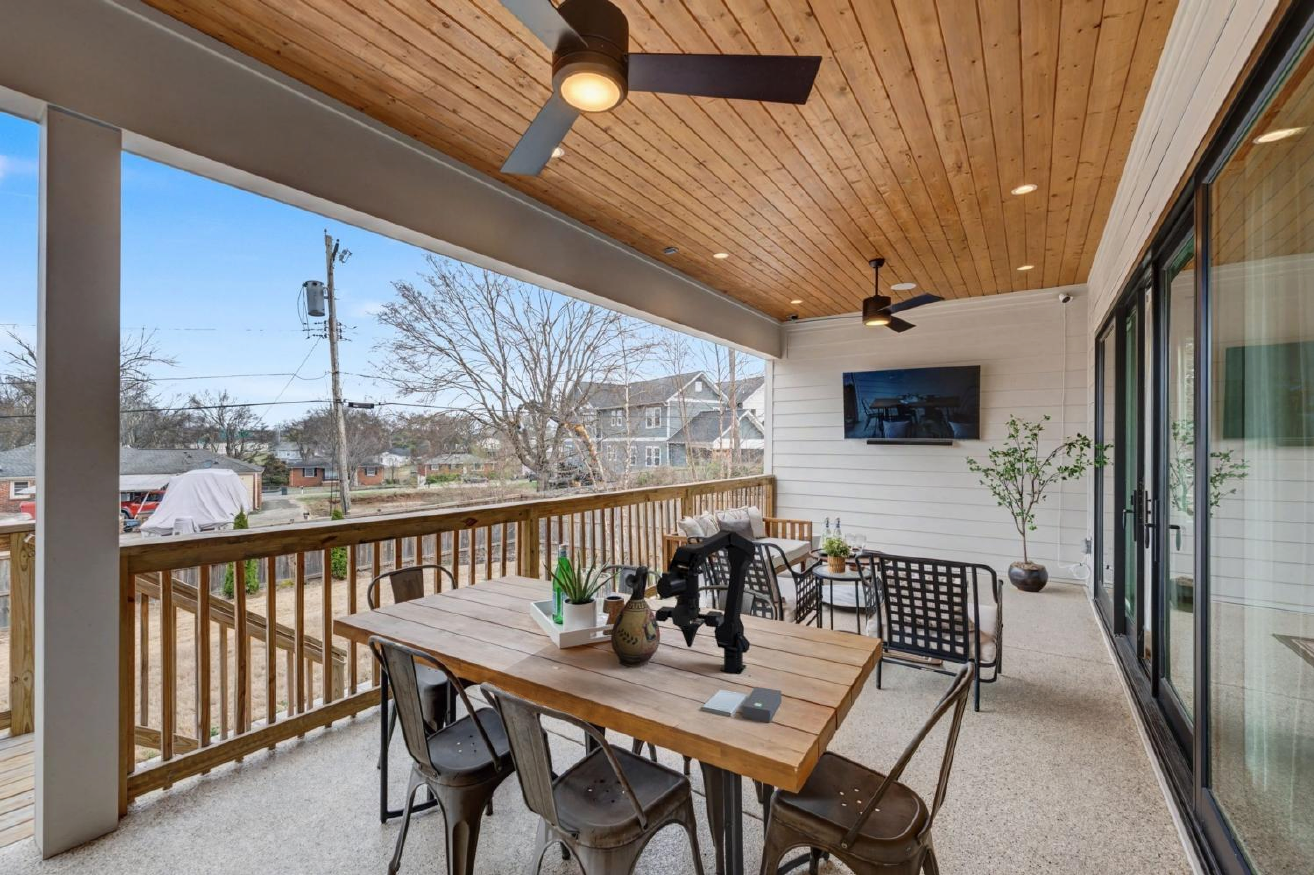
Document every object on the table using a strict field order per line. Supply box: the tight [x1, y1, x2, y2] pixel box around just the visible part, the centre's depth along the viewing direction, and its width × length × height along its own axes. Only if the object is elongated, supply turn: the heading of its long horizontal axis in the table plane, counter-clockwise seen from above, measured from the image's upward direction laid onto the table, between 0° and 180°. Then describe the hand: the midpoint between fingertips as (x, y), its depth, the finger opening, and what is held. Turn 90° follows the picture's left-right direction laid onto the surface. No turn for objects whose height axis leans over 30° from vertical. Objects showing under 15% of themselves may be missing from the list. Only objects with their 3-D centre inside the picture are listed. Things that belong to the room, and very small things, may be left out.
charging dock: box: [741, 686, 782, 724], centre depth 153 cm, size 13×8×3 cm, turn 156°
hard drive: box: [701, 689, 748, 718], centre depth 156 cm, size 2×8×12 cm
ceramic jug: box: [610, 565, 661, 668], centre depth 188 cm, size 17×15×30 cm
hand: (689, 646), depth 166 cm, fingers closed
